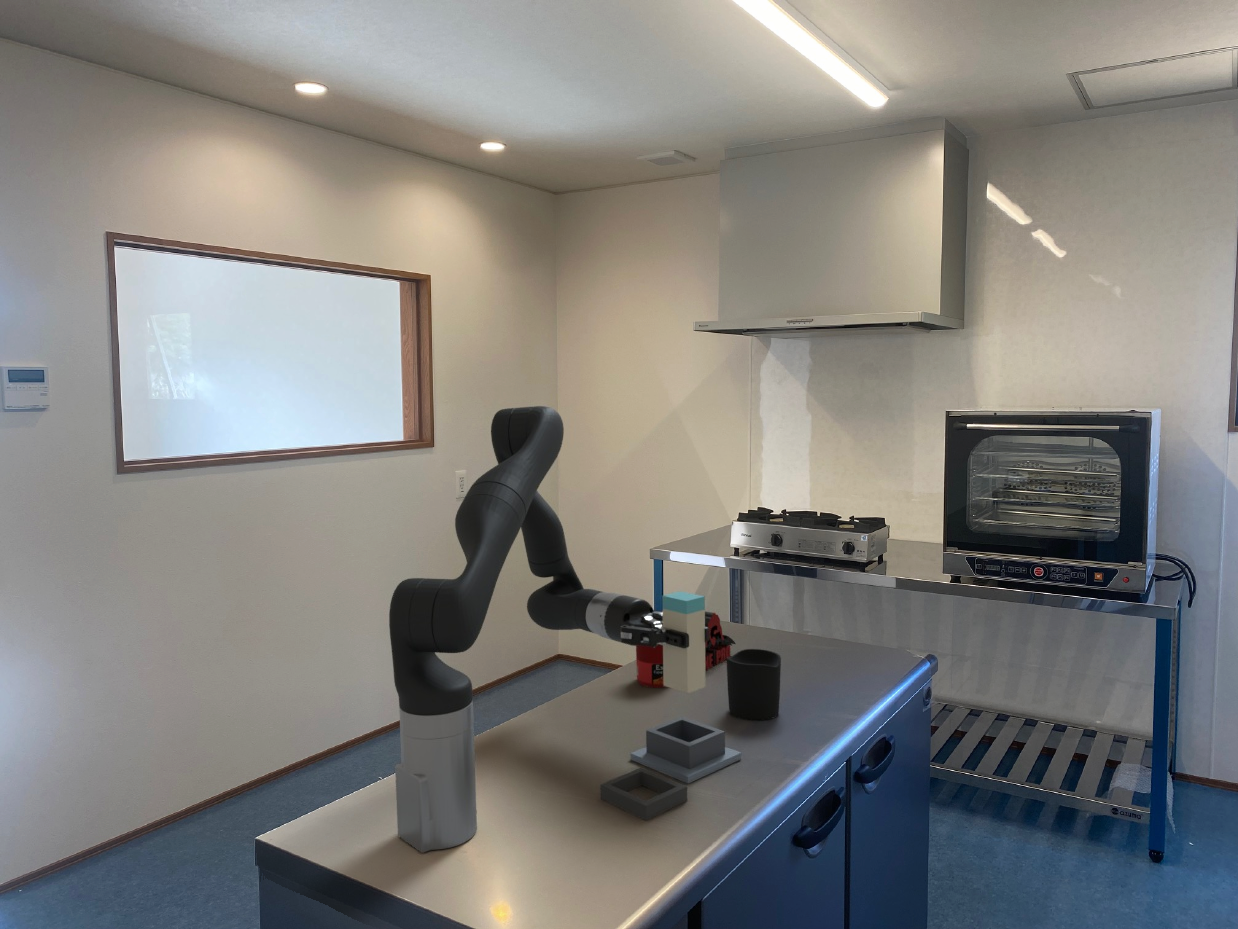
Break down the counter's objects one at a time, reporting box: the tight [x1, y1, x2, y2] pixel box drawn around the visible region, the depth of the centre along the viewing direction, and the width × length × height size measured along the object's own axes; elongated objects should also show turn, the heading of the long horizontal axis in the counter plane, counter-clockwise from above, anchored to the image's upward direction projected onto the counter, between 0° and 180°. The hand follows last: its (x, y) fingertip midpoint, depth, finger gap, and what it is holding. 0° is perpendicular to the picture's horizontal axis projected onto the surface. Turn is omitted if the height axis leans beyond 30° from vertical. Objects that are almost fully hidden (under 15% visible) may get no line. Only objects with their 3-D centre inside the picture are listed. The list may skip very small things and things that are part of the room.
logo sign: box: [705, 610, 736, 671], centre depth 182 cm, size 18×4×11 cm, turn 144°
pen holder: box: [725, 648, 782, 722], centre depth 155 cm, size 9×9×10 cm
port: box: [630, 716, 742, 784], centre depth 136 cm, size 12×12×4 cm
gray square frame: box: [599, 767, 688, 821], centre depth 122 cm, size 8×9×2 cm
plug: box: [661, 590, 706, 694], centre depth 134 cm, size 4×5×14 cm
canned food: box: [635, 644, 667, 689], centre depth 172 cm, size 8×8×11 cm
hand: (697, 638), depth 132 cm, fingers closed on plug, 4 cm apart
